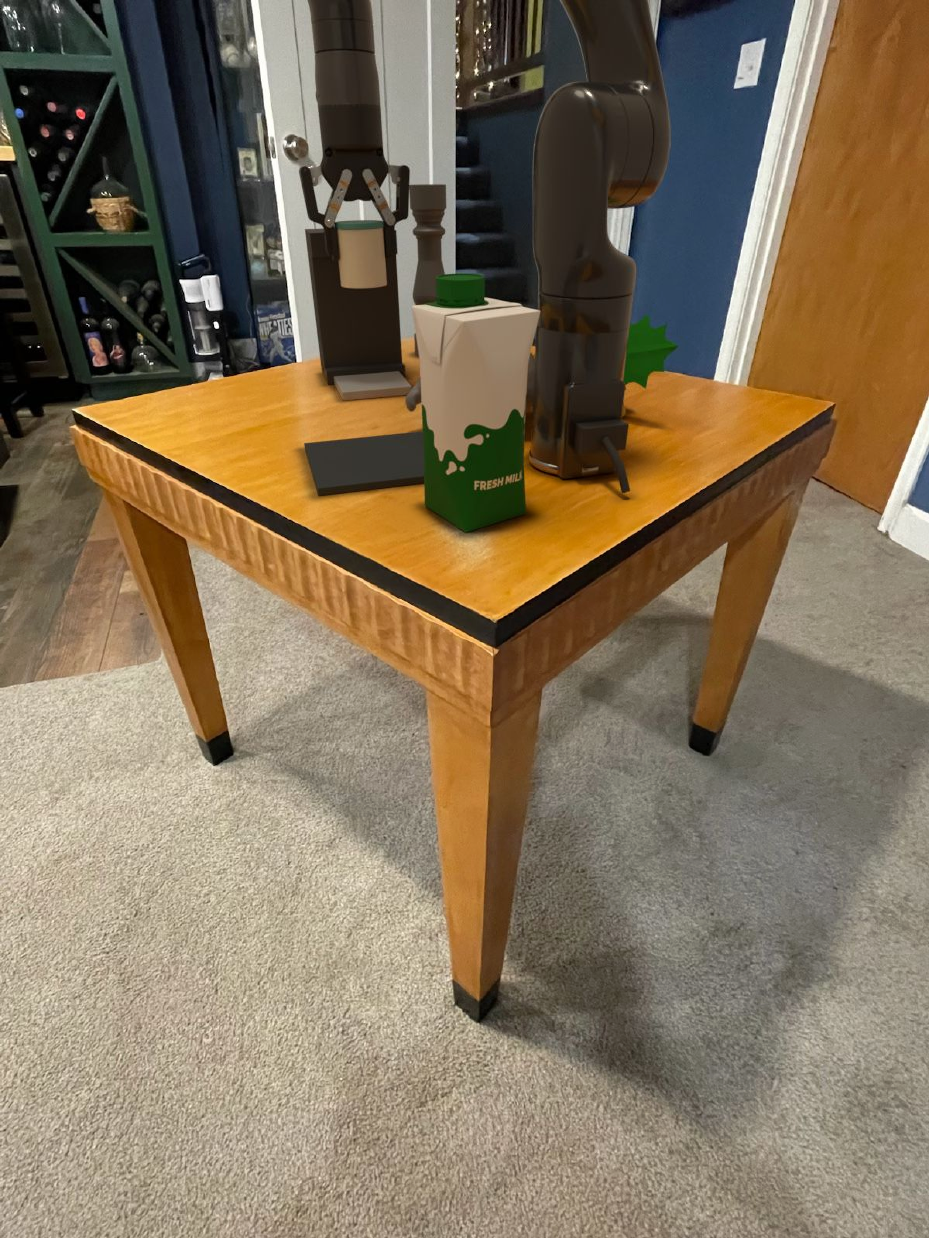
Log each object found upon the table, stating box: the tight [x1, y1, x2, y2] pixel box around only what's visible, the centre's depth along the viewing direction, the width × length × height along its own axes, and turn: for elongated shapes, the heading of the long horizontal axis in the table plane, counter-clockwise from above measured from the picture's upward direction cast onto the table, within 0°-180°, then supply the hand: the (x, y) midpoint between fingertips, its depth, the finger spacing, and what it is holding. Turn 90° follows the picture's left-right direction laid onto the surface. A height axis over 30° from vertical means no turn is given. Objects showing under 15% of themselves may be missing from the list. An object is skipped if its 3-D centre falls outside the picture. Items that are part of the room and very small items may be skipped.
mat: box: [304, 431, 424, 496], centre depth 76 cm, size 14×14×1 cm
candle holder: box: [409, 183, 447, 358], centre depth 113 cm, size 6×6×25 cm
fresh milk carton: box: [411, 273, 540, 533], centre depth 60 cm, size 9×9×20 cm
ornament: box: [533, 313, 679, 418], centre depth 89 cm, size 21×8×15 cm, turn 44°
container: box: [334, 219, 387, 288], centre depth 91 cm, size 6×6×8 cm
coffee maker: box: [304, 228, 413, 402], centre depth 99 cm, size 17×12×20 cm
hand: (362, 258), depth 92 cm, fingers closed on container, 6 cm apart
